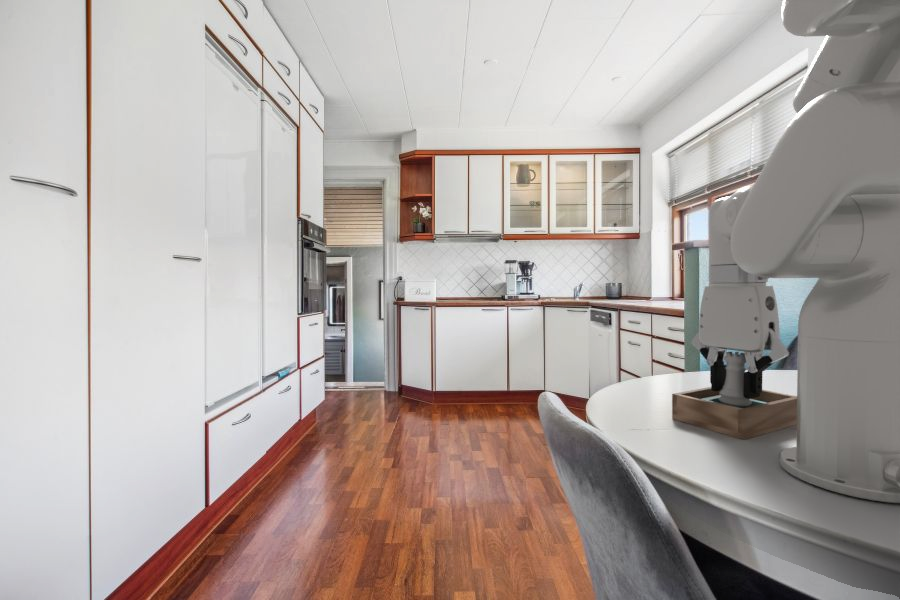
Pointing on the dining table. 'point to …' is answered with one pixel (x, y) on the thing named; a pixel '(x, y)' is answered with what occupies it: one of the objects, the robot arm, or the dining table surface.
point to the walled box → (735, 412)
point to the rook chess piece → (734, 381)
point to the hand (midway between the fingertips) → (735, 392)
